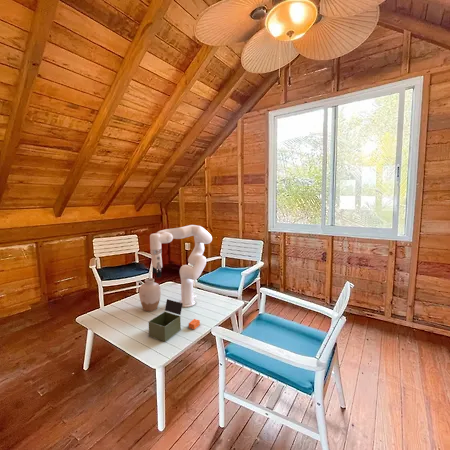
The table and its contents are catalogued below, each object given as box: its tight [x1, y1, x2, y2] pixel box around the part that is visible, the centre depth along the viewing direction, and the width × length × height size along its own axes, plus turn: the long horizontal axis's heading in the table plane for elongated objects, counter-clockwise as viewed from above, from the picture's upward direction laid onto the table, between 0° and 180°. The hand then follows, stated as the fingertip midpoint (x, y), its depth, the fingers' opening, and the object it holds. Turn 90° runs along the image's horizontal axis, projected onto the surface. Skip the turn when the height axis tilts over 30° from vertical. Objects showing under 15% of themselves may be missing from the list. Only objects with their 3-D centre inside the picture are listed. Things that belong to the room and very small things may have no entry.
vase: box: [138, 277, 162, 312], centre depth 190 cm, size 16×16×23 cm
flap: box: [164, 299, 183, 316], centre depth 165 cm, size 7×13×1 cm
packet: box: [188, 318, 201, 330], centre depth 167 cm, size 6×4×3 cm
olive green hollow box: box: [148, 311, 182, 343], centre depth 159 cm, size 15×13×10 cm
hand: (156, 275), depth 175 cm, fingers open, 9 cm apart
